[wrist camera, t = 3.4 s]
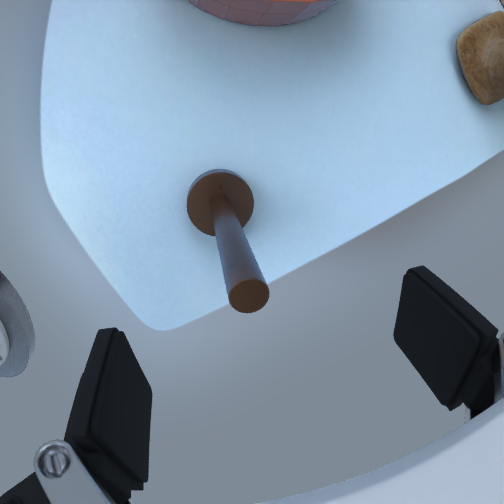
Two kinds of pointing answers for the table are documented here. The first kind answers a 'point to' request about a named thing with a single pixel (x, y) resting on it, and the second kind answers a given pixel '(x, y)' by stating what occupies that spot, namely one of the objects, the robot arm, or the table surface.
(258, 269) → the brown disc-based tamper
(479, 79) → the stone cup
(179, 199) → the table surface
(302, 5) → the bowl
